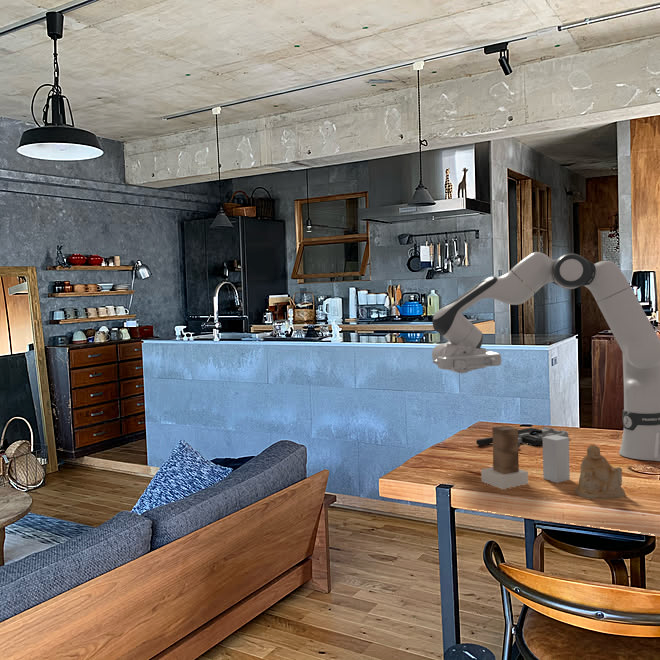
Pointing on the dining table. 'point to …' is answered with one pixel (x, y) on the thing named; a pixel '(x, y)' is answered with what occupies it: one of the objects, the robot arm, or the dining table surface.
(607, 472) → the statue
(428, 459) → the dining table surface
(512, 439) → the walnut block
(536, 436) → the toy gun
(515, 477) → the cream base
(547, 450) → the grey block
